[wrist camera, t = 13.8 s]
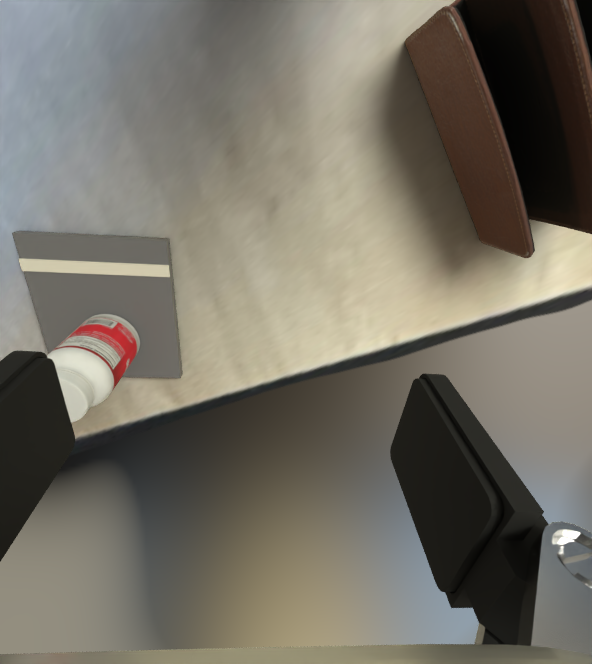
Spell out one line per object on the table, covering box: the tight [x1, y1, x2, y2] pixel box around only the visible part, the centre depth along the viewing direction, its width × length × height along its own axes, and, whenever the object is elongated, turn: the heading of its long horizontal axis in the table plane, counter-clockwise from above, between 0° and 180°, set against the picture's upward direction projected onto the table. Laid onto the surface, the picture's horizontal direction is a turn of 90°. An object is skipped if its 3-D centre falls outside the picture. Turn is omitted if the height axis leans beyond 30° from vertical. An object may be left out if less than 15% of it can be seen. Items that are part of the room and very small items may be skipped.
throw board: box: [12, 231, 182, 378], centre depth 37 cm, size 16×14×1 cm
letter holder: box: [405, 0, 592, 258], centre depth 25 cm, size 10×20×14 cm, turn 33°
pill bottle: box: [47, 314, 140, 423], centre depth 33 cm, size 6×6×11 cm
